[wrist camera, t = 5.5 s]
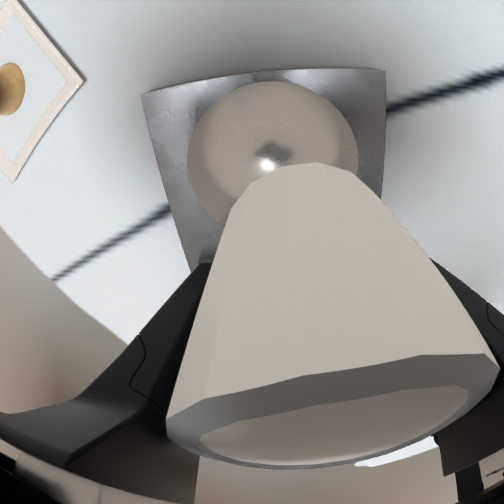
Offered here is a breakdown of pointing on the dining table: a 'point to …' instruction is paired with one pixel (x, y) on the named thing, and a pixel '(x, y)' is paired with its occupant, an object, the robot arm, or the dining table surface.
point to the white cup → (322, 333)
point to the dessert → (13, 86)
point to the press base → (259, 138)
